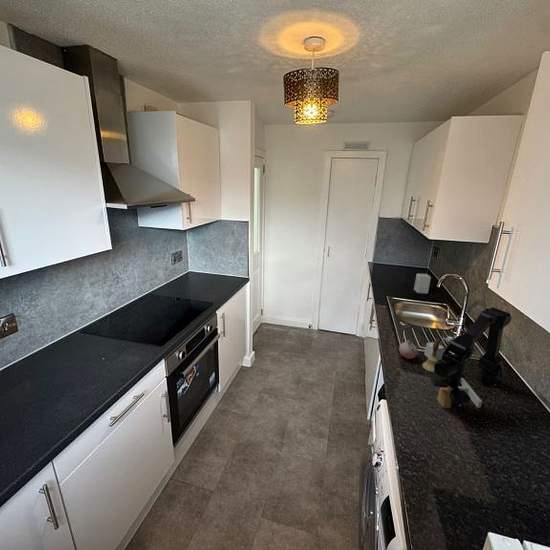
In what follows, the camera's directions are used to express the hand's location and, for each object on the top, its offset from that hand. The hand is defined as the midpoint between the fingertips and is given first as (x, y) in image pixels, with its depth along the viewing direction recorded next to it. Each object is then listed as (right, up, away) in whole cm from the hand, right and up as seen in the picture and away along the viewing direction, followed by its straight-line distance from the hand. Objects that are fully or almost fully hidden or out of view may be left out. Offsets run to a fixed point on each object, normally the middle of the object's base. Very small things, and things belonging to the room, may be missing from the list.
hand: (446, 401), depth 126 cm
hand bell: (+6, +6, +25) cm, 27 cm away
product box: (+12, +9, +34) cm, 37 cm away
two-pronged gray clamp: (+9, +1, +7) cm, 12 cm away
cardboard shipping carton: (0, -1, 0) cm, 1 cm away
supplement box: (+53, +39, +132) cm, 148 cm away
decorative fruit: (-3, +9, +32) cm, 33 cm away
